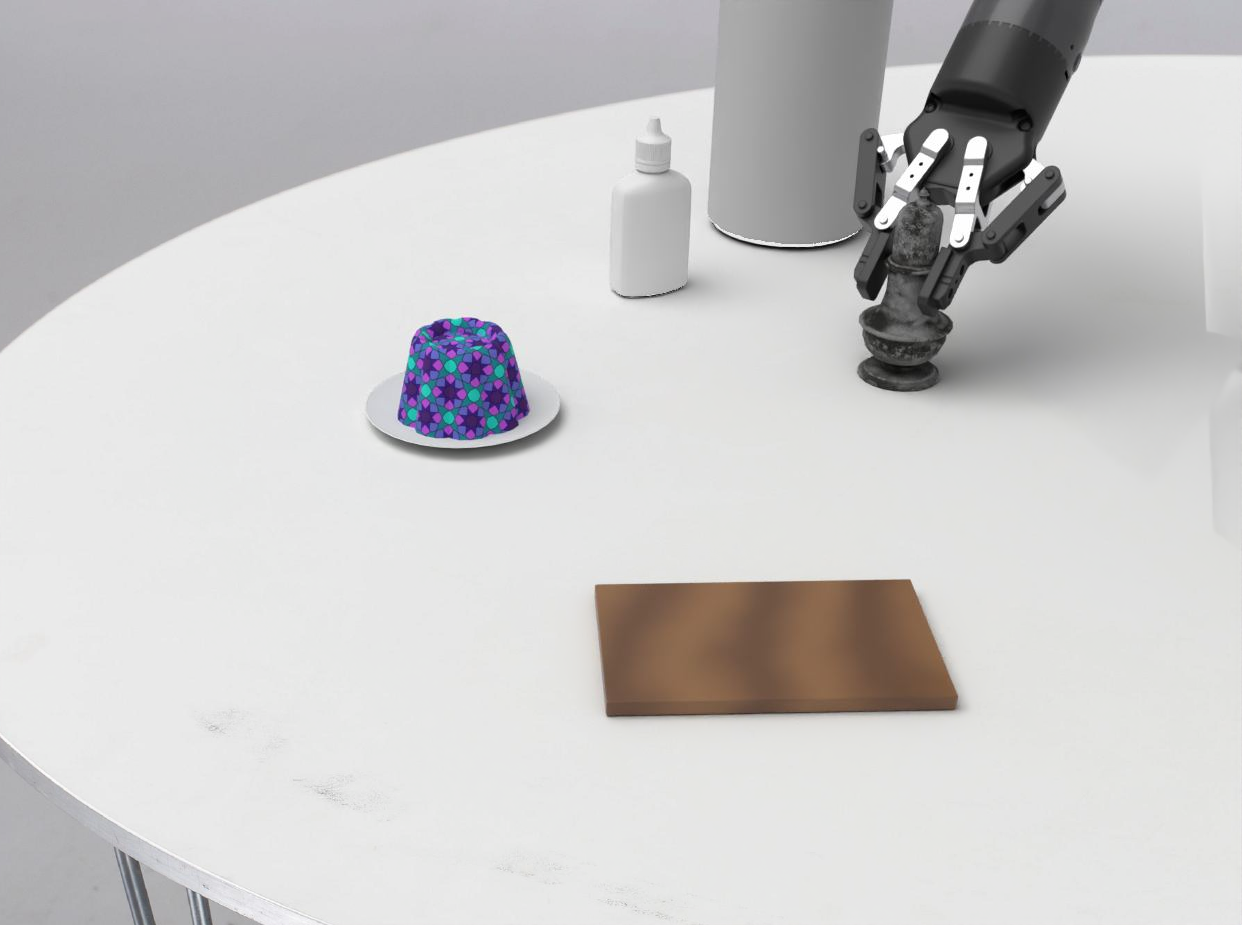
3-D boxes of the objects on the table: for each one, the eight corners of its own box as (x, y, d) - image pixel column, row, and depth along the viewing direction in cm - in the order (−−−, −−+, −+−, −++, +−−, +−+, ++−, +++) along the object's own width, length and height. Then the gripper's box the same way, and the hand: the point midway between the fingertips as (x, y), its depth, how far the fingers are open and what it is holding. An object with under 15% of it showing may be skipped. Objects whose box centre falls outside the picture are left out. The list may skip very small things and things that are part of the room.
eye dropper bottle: (610, 275, 113) (614, 107, 106) (686, 277, 112) (695, 108, 105) (607, 298, 109) (611, 126, 102) (686, 300, 109) (696, 127, 102)
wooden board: (908, 591, 78) (910, 578, 78) (956, 710, 70) (958, 695, 70) (594, 597, 78) (594, 583, 77) (606, 716, 70) (606, 702, 69)
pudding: (345, 388, 97) (338, 309, 94) (524, 361, 101) (523, 284, 98) (393, 473, 88) (387, 389, 85) (588, 441, 91) (589, 359, 88)
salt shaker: (958, 367, 100) (989, 182, 93) (923, 401, 96) (952, 210, 89) (874, 347, 102) (898, 166, 95) (837, 379, 98) (858, 192, 91)
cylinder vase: (690, 241, 118) (709, -122, 104) (726, 191, 128) (748, -148, 113) (851, 259, 115) (895, -112, 100) (876, 206, 125) (920, -140, 110)
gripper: (897, 0, 95) (777, 247, 95) (1117, 34, 88) (989, 301, 88) (924, 71, 102) (812, 303, 101) (1132, 109, 95) (1012, 358, 94)
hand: (895, 301), depth 95 cm, fingers closed on salt shaker, 3 cm apart
